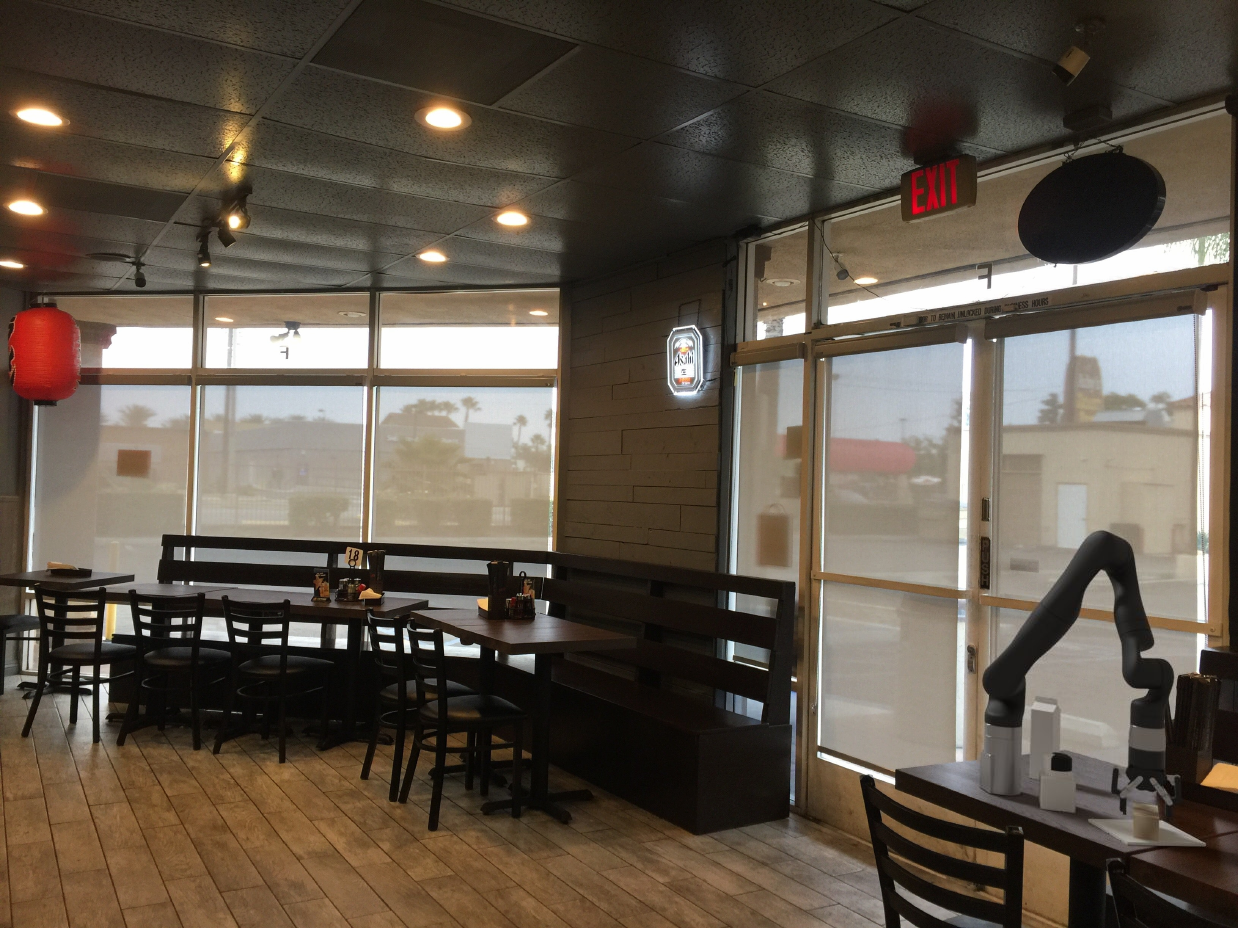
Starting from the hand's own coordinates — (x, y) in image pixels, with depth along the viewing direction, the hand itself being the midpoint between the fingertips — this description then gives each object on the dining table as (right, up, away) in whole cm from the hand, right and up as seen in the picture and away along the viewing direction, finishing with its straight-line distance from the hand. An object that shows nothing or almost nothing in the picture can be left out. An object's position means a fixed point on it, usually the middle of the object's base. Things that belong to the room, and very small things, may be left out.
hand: (1145, 817), depth 228 cm
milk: (-4, -5, +45) cm, 45 cm away
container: (-12, -4, +18) cm, 22 cm away
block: (-3, 0, -6) cm, 7 cm away
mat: (0, -4, 0) cm, 4 cm away
